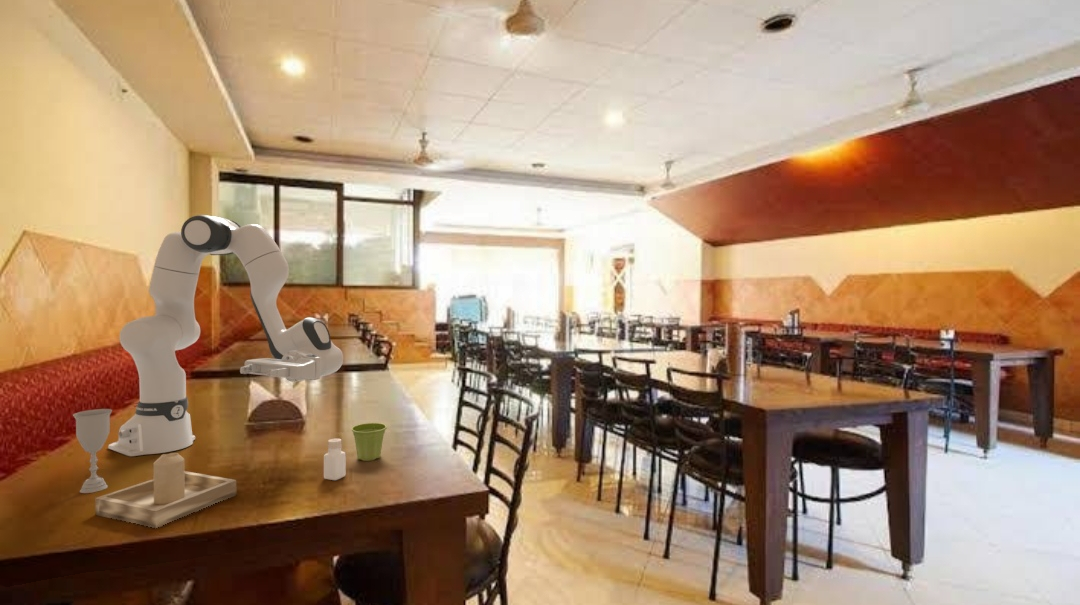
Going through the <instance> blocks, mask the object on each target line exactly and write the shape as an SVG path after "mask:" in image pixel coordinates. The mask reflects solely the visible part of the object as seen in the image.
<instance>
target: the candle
mask: <svg viewBox="0 0 1080 605" xmlns="http://www.w3.org/2000/svg"><path fill="white" fill-rule="evenodd" d="M152 465H153V466H152V467H153V479H154V503H155V504H159V505H163V504H169V503H172V502H174V501H177V500H180V499H182V498H184V496H185V471H186V470H185V457H183V456H182V455H180V454H179V453H178V452H168V453H161V455H160V456H159V457H158V458H157V459H156V460H155V461H154V462H153V464H152Z"/></svg>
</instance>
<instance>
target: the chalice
mask: <svg viewBox="0 0 1080 605" xmlns="http://www.w3.org/2000/svg"><path fill="white" fill-rule="evenodd" d="M112 411H113V409H111V408H99V409H98V408H97V409H89V410H82V411H79V412H75V413H73V414H72V416H73V418H74V419H75V437H76V438H77V440H78V443H79V444H80V445H81V447H82V448H83V450H84V451H85V453H89V454H90V459H89V461H88V462H89V463H90V468H88V471H90V477H88V478H87V479H85V480H84V482H83V484H82V486H81V489H80V490H79V493H81V494H89V493H90V494H92V493H96V492H99V491H104V490H106V489H108V487H109V485H108V484H107V482H106V481H105V479H104V478H103V477H101V476H99V475H98V474H97V470H98V469H99V467H98V465H97V462H98V460H99V459H98V457H97V453H98V451H101V450H102V449H103V447H104V445H105V443H106V441H107V440H108V436H109V435H110V431H111V430H110V429H111V426H110V420H111V419H110V416H111V414H112Z"/></svg>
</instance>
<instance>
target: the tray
mask: <svg viewBox="0 0 1080 605" xmlns="http://www.w3.org/2000/svg"><path fill="white" fill-rule="evenodd" d="M184 471H185V496H184V498H182V499H180V500H177V501H174V502H172V503H169V504H163V505H159V504H155V503H154V478H152V479H150V480H146V481H143V482H140V483H137V484H134V485H131V486H128V487H125V488H122V489H119V490H115V491H112V492H110V493H106V494H103V495H100V496H97V497H95V498H94V500H95V501H94V502H95V504H94V505H95V506H94V511H95V512H94V514H95V516H99V517H103V518H107V519H111V518H112V520H116V519H117V520H116V521H120V520H122V521H121V522H124V521H126V522H125V523H129V522H131V523H130V524H133V523H136V524H135V525H137V524H140V525H139V526H141V525H144V526H143V527H146V526H148V527H147V528H150V527H152V528H151V529H154V528H155V530H156V528H157V529H159V528H161V527H164V526H166V525H168V524H167V523H169V522H171V523H173V522H175V521H174V520H176V521H178V520H180V519H179V518H181V519H183V518H185V517H188V516H190V515H192V514H191V513H193V512H195V513H197V512H200V511H202V510H204V509H203V508H205V509H207V508H209V507H212V506H214V505H216V504H215V503H217V504H218V502H219V503H221V502H224V501H226V500H228V498H229V499H231V498H233V497H236V496H237V479H232V478H225V477H221V476H216V475H209V474H204V473H199V472H197V473H196V472H193V471H192V472H191V471H186V470H184ZM223 500H224V501H223ZM220 501H221V502H220ZM213 504H214V505H213ZM211 505H212V506H211ZM208 506H209V507H208ZM206 507H207V508H206ZM201 509H202V510H201ZM199 510H200V511H199ZM189 514H190V515H189ZM193 514H194V513H193ZM187 515H188V516H187ZM184 516H185V517H184ZM182 517H183V518H182ZM177 519H178V520H177ZM172 521H173V522H172ZM165 524H166V525H165ZM169 524H170V523H169ZM163 525H164V526H163ZM158 527H159V528H158Z"/></svg>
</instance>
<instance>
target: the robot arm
mask: <svg viewBox="0 0 1080 605" xmlns="http://www.w3.org/2000/svg"><path fill="white" fill-rule="evenodd" d="M233 254H234V255H236V256H237V258H238V260H240V263H241V264H242V267H243V268H244V270H245V272H246V274H247V276H248V280H249V284H250V291H249V294H250V299H251V303H252V306H253V307H254V311H255V312H256V314H257V317H258V320H259V322H260V325H261V326H262V330H263V331H264V334H265V337H266V339H267V344H268V348H269V351H270V354H271V356H272V358H268V357H266V358H252V359H247V360H245V361H244V365H243V366H241V367H240V368H239V372H240V374H243V375H247V374H249V375H250V374H251V375H258V376H259V375H260V376H265V377H266V376H267V377H269V378H282V379H283V378H284V379H286V381H288V382H291V383H296V382H303V381H317V380H320V379H321V377H326V376H329V375H331V374H335V373H337V371H338V370H340V368H341V367H342V365H343V363H344V353H343V351H342V349H340V348H339V347H338V346H336V345H335V344H334V343H333V341H332V340H331V333H330V331H329V329H328V327H327V325H326V324H325V323H324V322H323V321H322V320H320V319H318V318H315V317H309V316H308V317H305V318H303V319H301V320H300V321H298V322H297V323H295V324H294V325H292V326H291V327H289V328H286V326H285V323H284V321H283V319H282V316H281V314H280V311H279V309H278V305H277V299H278V296H279V293H280V291H281V290H282V288H283V287H284V285H285V284H286V282H287V280H288V278H289V274H290V267H289V263H288V260H287V259H286V257H285V256H284V254H283V252H282V251H281V249H280V247H279V245H278V244H277V243H276V242H275V240H274V238H272V236H271V235H270V234H269V232H268V231H267V230H266V229H265V228H264V227H263V226H261V225H259V224H255V223H250V224H249V223H248V224H245V225H242V226H241V225H240V224H238V223H237V222H235V221H234V220H231V219H228V218H225V217H221V216H216V215H215V216H211V215H207V214H199V215H198V214H197V215H194V216H191V217H189V218H188V219H186V220H185V221H184V223H183V224H182V226H181V230H180V231H176V232H171V233H168V234H167V235H166V236H165V237H164V238H163V240H162V242H161V244H160V247H159V250H158V252H157V254H156V258H155V262H154V265H153V270H152V274H151V278H150V283H149V288H148V293H149V295H150V297H151V298H152V299H153V302H154V309H155V310H154V315H152V316H151V315H150V316H141V317H139V318H137V319H134V320H131V321H129V322H127V323H126V324H124V326H123V327H122V328H121V330H120V332H119V342H120V345H121V347H122V348H123V350H125V351H126V352H128V353H129V354H130V356H131V358H132V360H133V361H134V364H135V367H136V370H137V373H138V378H139V379H138V381H139V401H138V402H134V403H133V405H134V406H133V407H134V408H136V409H135V410H134V411H135V412H134V415H133V416H132V417H131V418H129V419H128V420H127V421H126V422H124V423H123V424H122V425H121V426H120V428H119V430H118V440H117V441H115V442H112V443H110V444H108V447H107V449H108V450H112V451H114V452H117V453H120V454H122V455H124V456H127V457H136V456H138V457H139V456H143V455H155V454H165V453H171V452H174V451H179V450H182V449H185V448H188V447H191V445H193V444H194V440H196V435H194V434H193V431H192V430H193V429H192V421H191V414H190V413H189V412H188V411H187V410H188V409H189V401H188V397H187V383H186V382H187V375H186V374H187V373H186V371H185V369H184V368H182V366H180V364H179V362H178V359H177V356H176V351H179V350H185V349H186V348H188V347H190V346H192V345H193V344H195V343H196V342H197V341H198V339H200V336H201V327H200V324H199V322H198V321H197V320H196V314H195V296H196V291H197V284H198V281H199V275H200V270H201V266H202V262H203V261H204V259H205V258H206V257H207V256H208V255H211V256H221V255H222V256H223V255H224V256H226V255H233Z"/></svg>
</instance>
